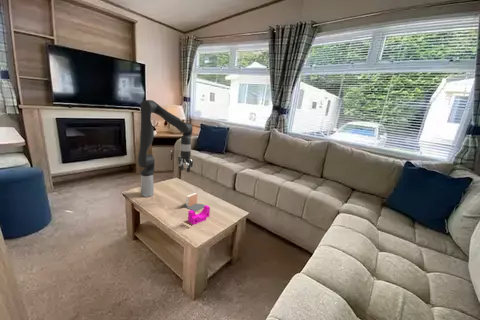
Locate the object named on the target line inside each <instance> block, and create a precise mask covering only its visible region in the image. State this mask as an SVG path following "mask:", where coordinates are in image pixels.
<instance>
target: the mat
mask: <svg viewBox="0 0 480 320" xmlns="http://www.w3.org/2000/svg"><path fill="white" fill-rule="evenodd" d="M205 205H206V204H203V203H196V204H194V205H192V206H189V207H188V206H186V203H185V204H182V207H184V208H186V209H188V210H193V211H194V212H195V213H196V212H198V211H200V210H203V209H204V206H205Z"/></svg>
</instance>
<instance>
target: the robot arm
mask: <svg viewBox="0 0 480 320" xmlns="http://www.w3.org/2000/svg"><path fill="white" fill-rule="evenodd" d="M139 108H140V136H139V137H140V139H139V140H140V141H139V151H138V155H137V157H138V158H137V163H138V166H139V167H140V168H143V169H142V170H141V171H140V195H141V196H142V197H145V198H146V197H147V198H148V197H152V196H153V195H155V194H154V172H155V164H156V163H155V157H154V156H153V155H152V154H148V150H149V148H150V146H151V144H152V143H153V141H154V137H155V136H154V133H155V132H154V131H155V130H154V127H153V124H152V121H151V118H152V114H156V115H157V116H159V117H161V118H162V119H163V120H164V121H165V122H166V123H168V124H169V125H171V126H173V127H175V129H177V130H178V131H179V132H181V133H182V136H181V137H180V150H179V151H180V156H178V157H177V160H178V162H177V163H178V165H179V166H180V171H184V164H185V165H186V172H187V173H190V172H191V168H193V165H194V164H193V163H194V160H193V159H191V155H192V153H191V152H192V151H191V150H192V147H191V146H192V144H191V143H192V142H191V141H192V134H193V125H192V124H191V123H189V122H184V121H182V120H181V118H179V117H178V116H177V115H174V114H173V113H171V112H169V111H168V110H166V109H165V108H163V107H162V106H160V105H159V104H158V103H157V102H156V101H154V100H151V99H148V100H147V99H144V100H142V101H141V103H140V107H139Z"/></svg>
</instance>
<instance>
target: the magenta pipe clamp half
mask: <svg viewBox="0 0 480 320" xmlns="http://www.w3.org/2000/svg"><path fill="white" fill-rule="evenodd" d="M204 205H205V206H204V208H202V209H201V211H200V212H199V213H196V212H195V211H193V210H191V209H189V210H188V211H187V212H188V213H187V215H188V216H187V221H188V222H189V223H190V224H191V225H197V224H200V223H201V222H205V221H206V220H207V218H210V214H211V213H210V210H211V207H210V206H209V205H207V204H204Z"/></svg>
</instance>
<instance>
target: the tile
mask: <svg viewBox="0 0 480 320" xmlns="http://www.w3.org/2000/svg"><path fill="white" fill-rule="evenodd" d="M185 204H186V206H188V207H189V206H192V205H194V204H198V193H196V192H194V193H191V194H189V195H186V201H185Z"/></svg>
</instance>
